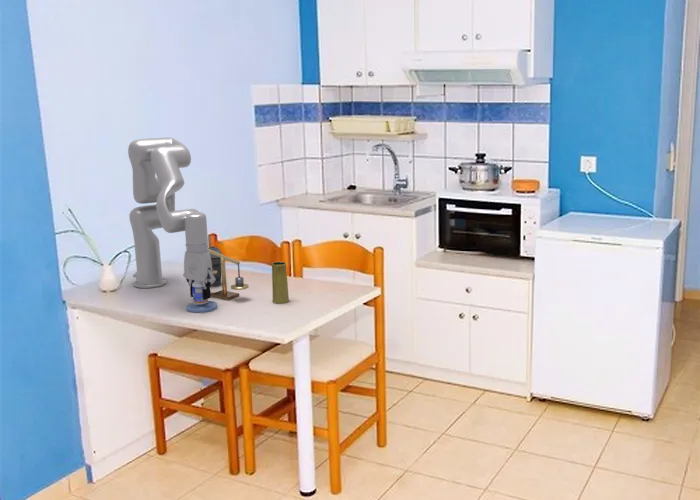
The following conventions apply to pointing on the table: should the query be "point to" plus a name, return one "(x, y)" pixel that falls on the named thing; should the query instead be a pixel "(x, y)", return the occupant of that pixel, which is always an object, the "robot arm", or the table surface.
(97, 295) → the table surface
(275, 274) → the vase
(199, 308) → the dish
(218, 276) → the beverage cup
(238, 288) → the balance
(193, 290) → the pill bottle
